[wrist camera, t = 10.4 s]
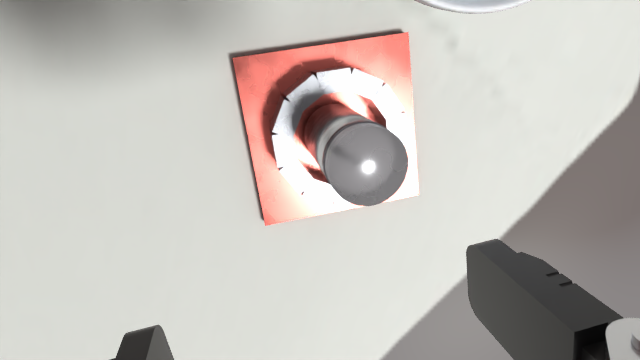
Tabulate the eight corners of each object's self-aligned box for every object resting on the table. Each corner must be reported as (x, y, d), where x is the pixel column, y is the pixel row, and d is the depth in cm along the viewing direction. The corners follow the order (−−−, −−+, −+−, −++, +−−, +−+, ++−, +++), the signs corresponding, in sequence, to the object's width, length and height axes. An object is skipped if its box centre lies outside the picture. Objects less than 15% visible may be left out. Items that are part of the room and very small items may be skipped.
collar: (232, 57, 32) (231, 58, 29) (403, 32, 34) (423, 30, 30) (264, 221, 37) (267, 240, 33) (414, 191, 38) (433, 206, 35)
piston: (298, 108, 33) (322, 133, 24) (360, 98, 34) (406, 118, 25) (308, 168, 35) (333, 214, 26) (366, 157, 36) (411, 198, 26)
